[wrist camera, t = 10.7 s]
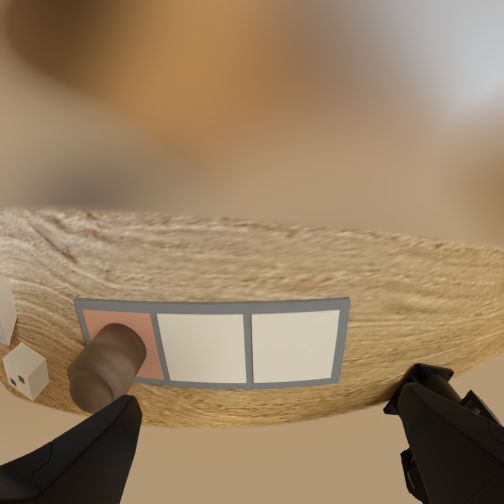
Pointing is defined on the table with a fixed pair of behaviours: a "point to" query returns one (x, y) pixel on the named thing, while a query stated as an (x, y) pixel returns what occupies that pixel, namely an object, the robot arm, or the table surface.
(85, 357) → the pawn
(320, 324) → the game board
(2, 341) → the figurine
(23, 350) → the cream box with slots
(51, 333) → the table surface
